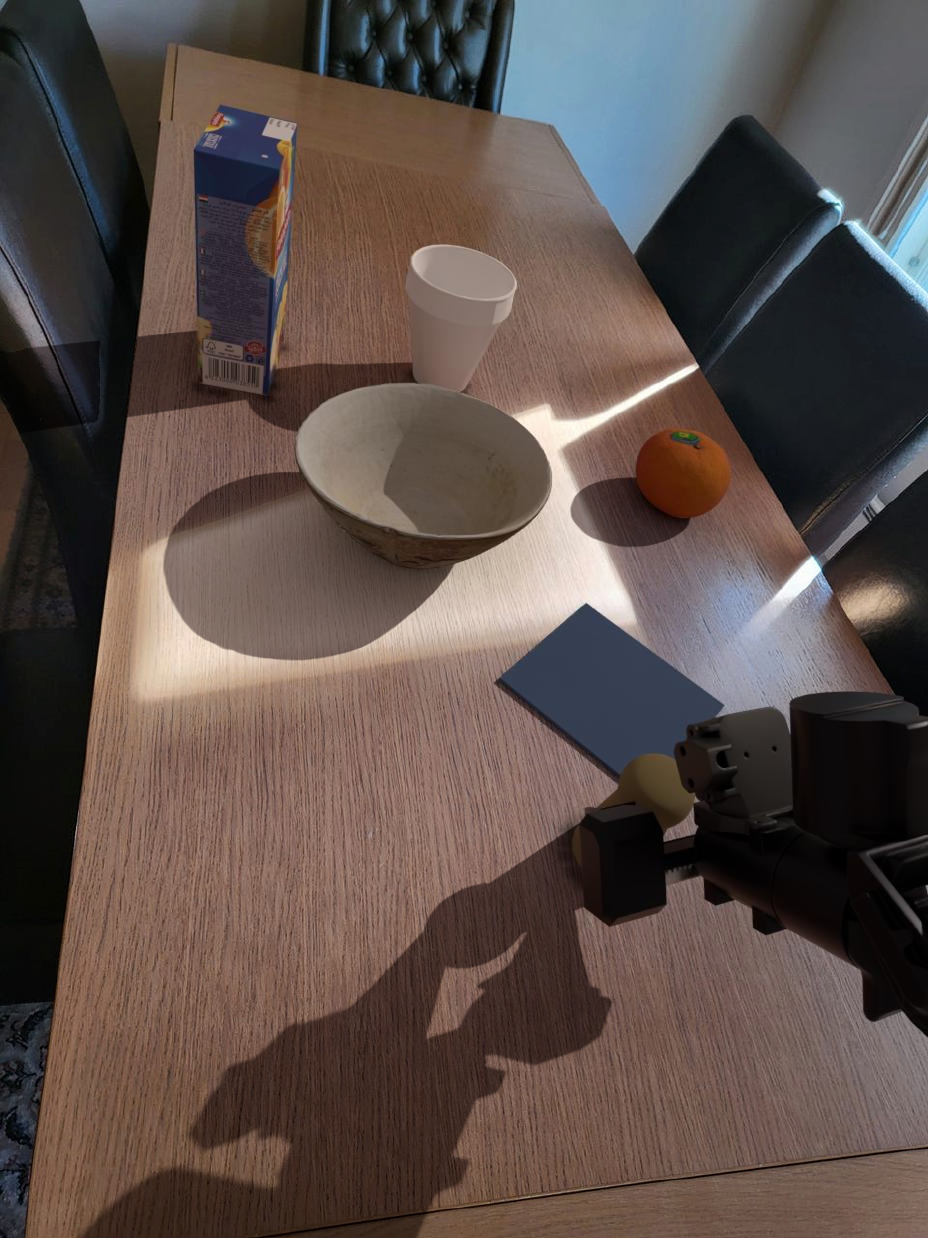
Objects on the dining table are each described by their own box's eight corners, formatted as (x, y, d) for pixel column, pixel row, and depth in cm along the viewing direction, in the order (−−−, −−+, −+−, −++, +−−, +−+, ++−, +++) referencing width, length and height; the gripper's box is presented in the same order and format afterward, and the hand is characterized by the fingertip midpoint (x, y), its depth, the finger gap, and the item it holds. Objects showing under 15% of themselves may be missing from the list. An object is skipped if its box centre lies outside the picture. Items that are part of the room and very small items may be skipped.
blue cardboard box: (267, 396, 91) (279, 169, 74) (198, 383, 90) (193, 149, 73) (283, 339, 99) (297, 122, 82) (220, 326, 98) (220, 103, 81)
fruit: (728, 521, 95) (762, 466, 89) (663, 540, 90) (694, 484, 84) (670, 463, 100) (699, 408, 94) (606, 478, 95) (631, 421, 89)
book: (723, 707, 76) (724, 705, 76) (647, 801, 67) (649, 799, 67) (584, 605, 81) (586, 602, 80) (498, 680, 72) (499, 677, 72)
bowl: (263, 459, 84) (267, 375, 77) (473, 445, 94) (494, 369, 87) (325, 635, 71) (338, 552, 64) (562, 598, 81) (597, 522, 73)
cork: (635, 813, 66) (692, 739, 58) (656, 886, 62) (721, 818, 54) (564, 815, 65) (613, 739, 57) (581, 890, 61) (637, 819, 53)
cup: (448, 342, 107) (472, 238, 97) (508, 395, 102) (539, 291, 92) (370, 359, 101) (387, 249, 91) (430, 417, 96) (454, 307, 86)
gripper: (935, 707, 47) (744, 671, 61) (658, 764, 40) (516, 709, 54) (938, 896, 48) (749, 817, 62) (670, 983, 41) (528, 872, 55)
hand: (643, 801), depth 58 cm, fingers open, 9 cm apart
